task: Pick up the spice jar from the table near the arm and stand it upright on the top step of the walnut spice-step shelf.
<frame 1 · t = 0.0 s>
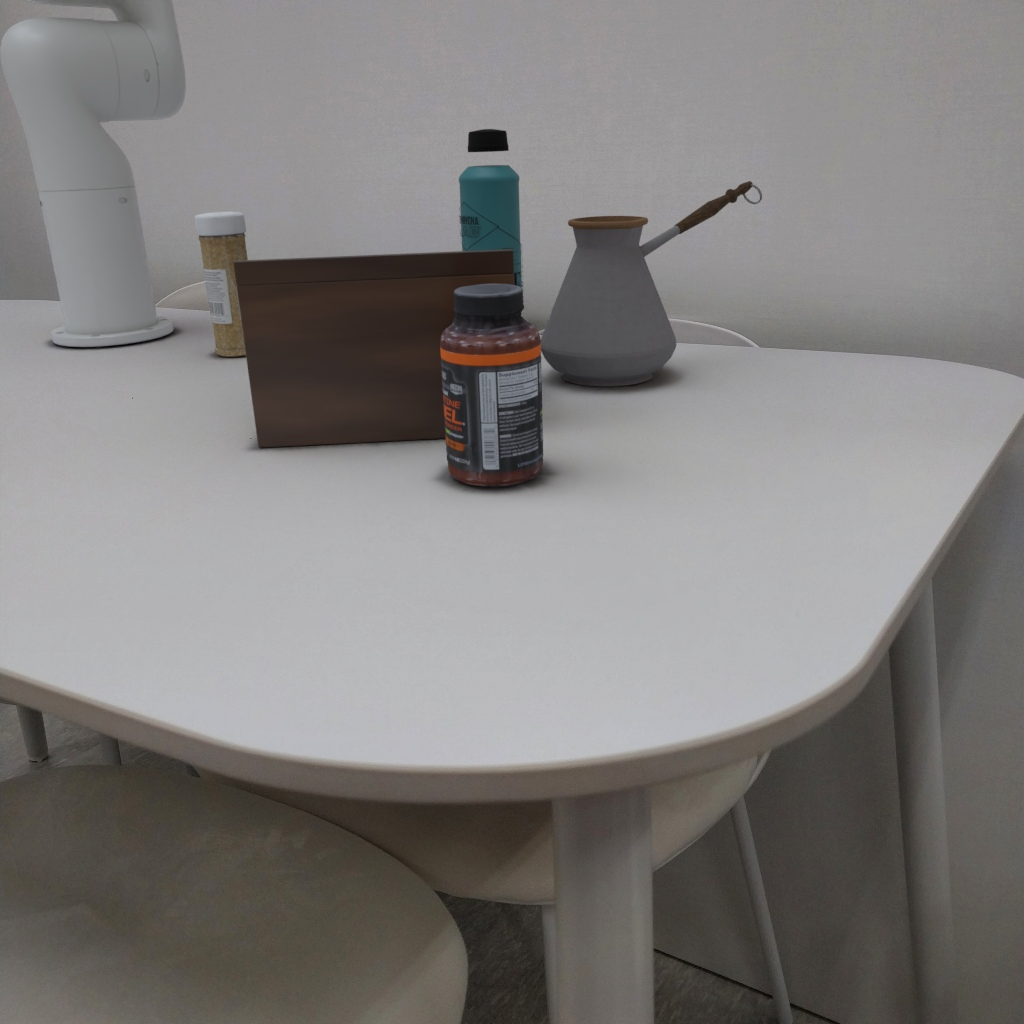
spice jar: (238, 354, 97), on the table
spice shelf: (395, 410, 74), on the table
beverage bottle: (494, 330, 105), on the table
supplement bottle: (495, 476, 60), on the table
coffee pot: (653, 370, 85), on the table
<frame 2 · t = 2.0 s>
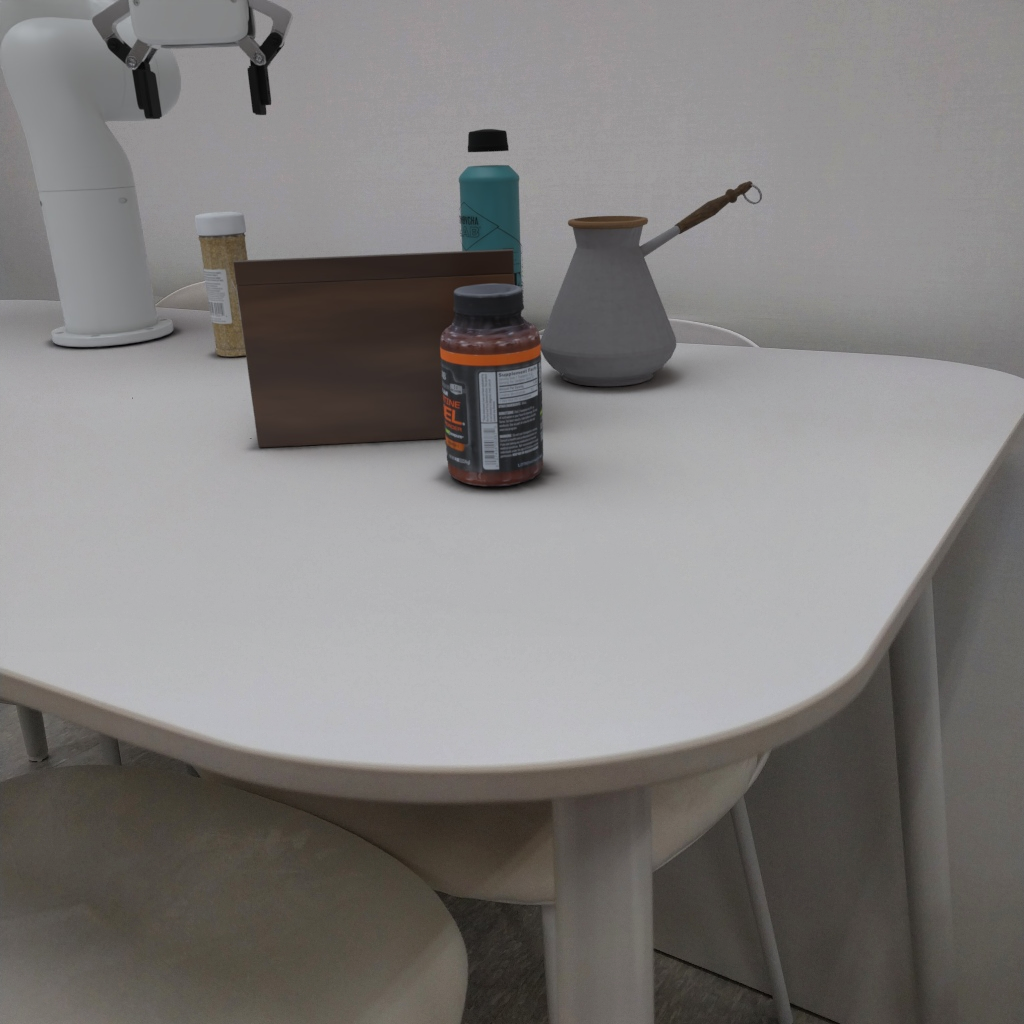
hand: (207, 116, 89), 22 cm above the table, tool pointing down, fingers open, 9 cm apart
nothing on the table moved.
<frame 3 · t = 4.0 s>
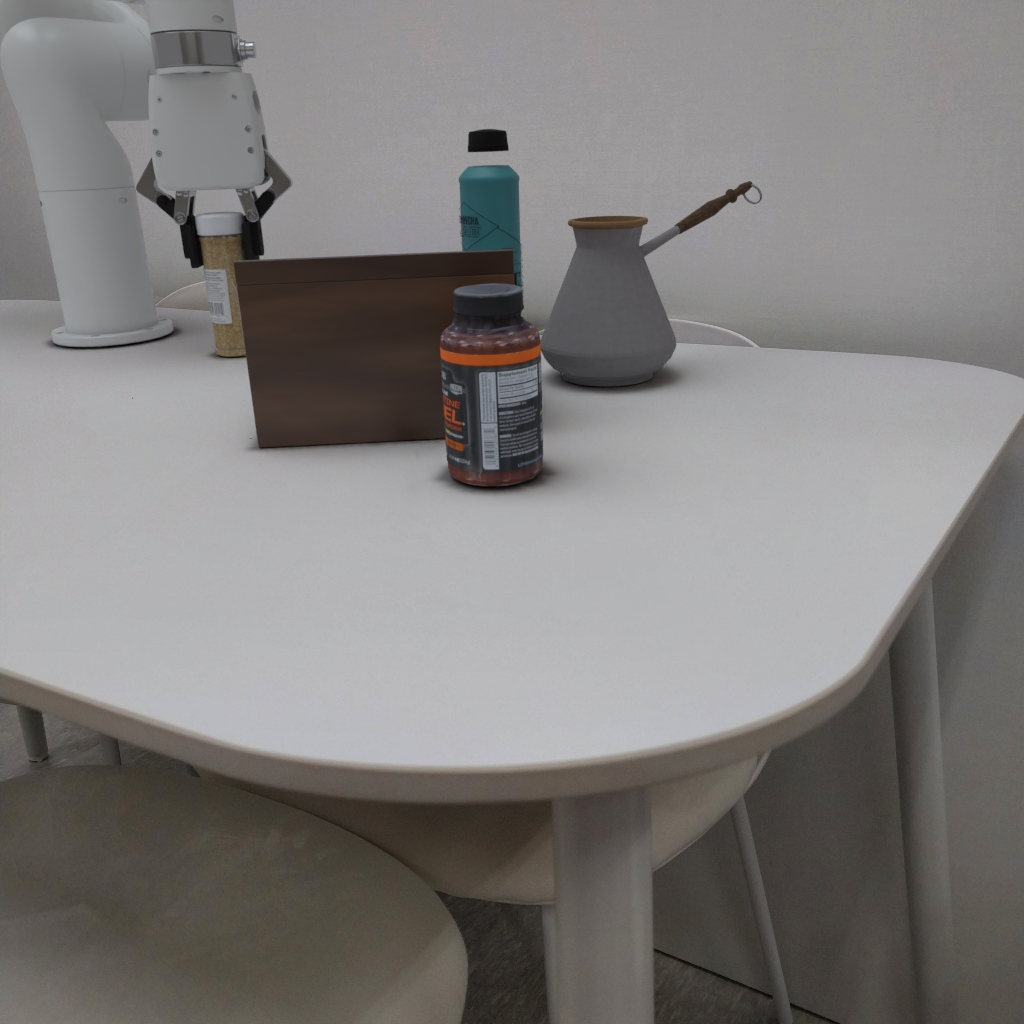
hand: (226, 263, 94), 9 cm above the table, tool pointing down, fingers closed on spice jar, 4 cm apart
spice jar: (238, 354, 97), on the table, touching gripper
everything else where it was.
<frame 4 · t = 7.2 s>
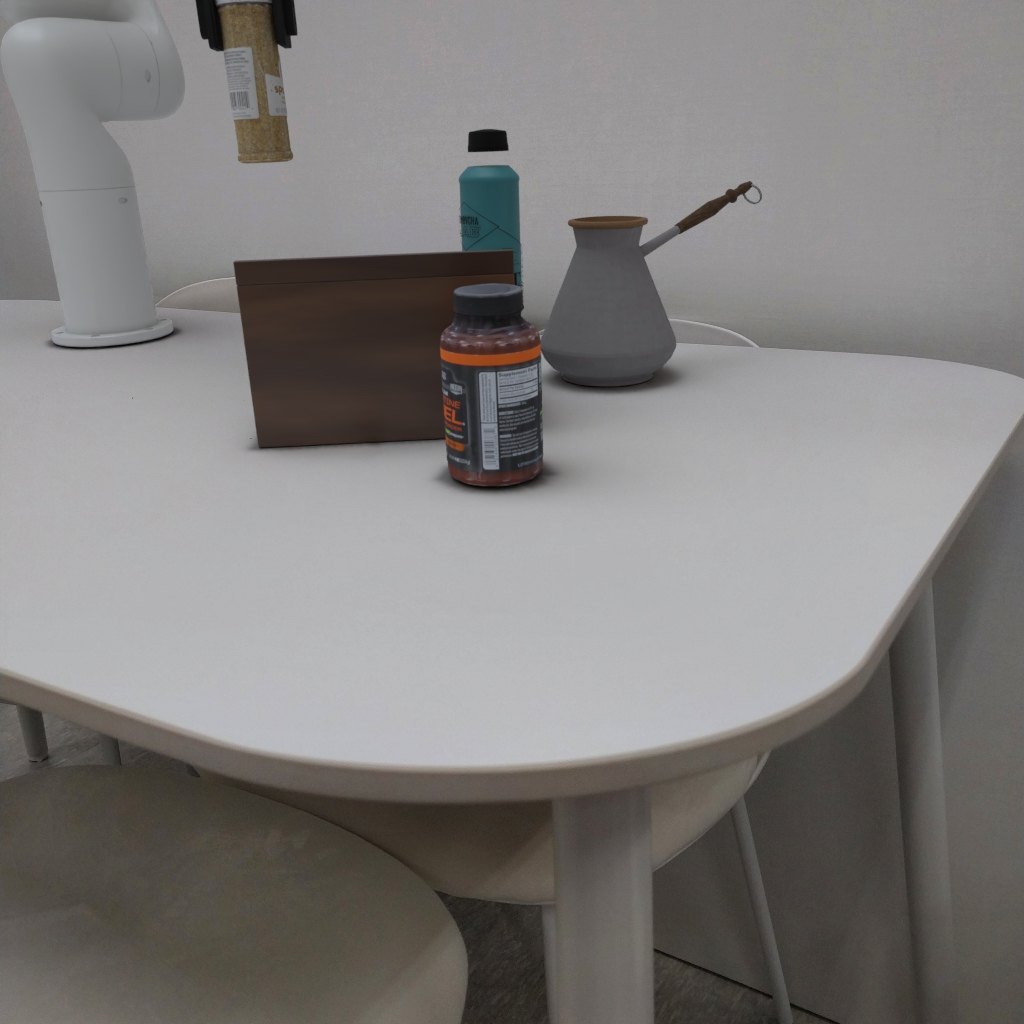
hand: (251, 45, 77), 27 cm above the table, tool pointing down, fingers closed on spice jar, 4 cm apart
spice jar: (266, 165, 80), point 18 cm above the table, touching gripper
everything else where it was.
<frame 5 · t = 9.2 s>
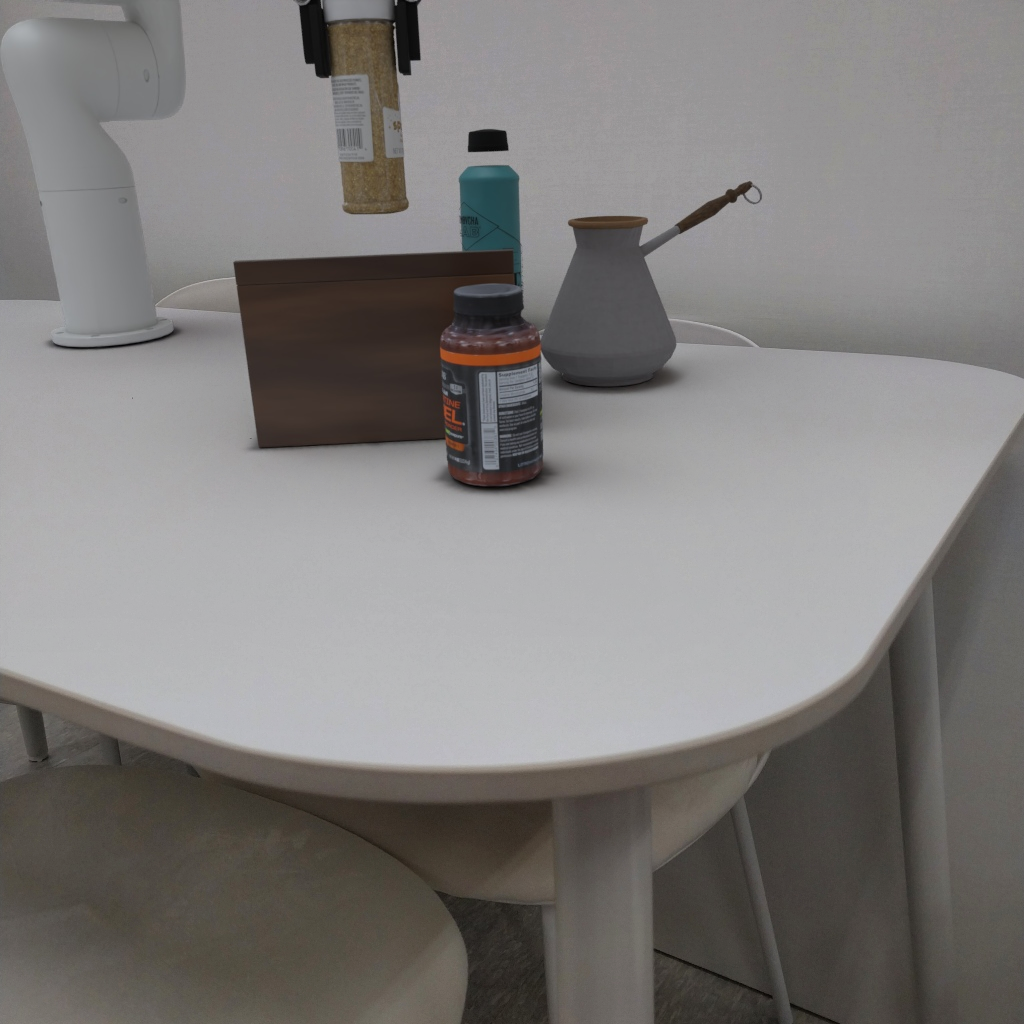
hand: (364, 72, 62), 24 cm above the table, tool pointing down, fingers closed on spice jar, 4 cm apart
spice jar: (375, 215, 66), point 15 cm above the table, touching gripper
everything else where it was.
when the fingers open (20 cm above the table, at t = 10.6 s): spice jar stays where it is, resting on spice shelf.
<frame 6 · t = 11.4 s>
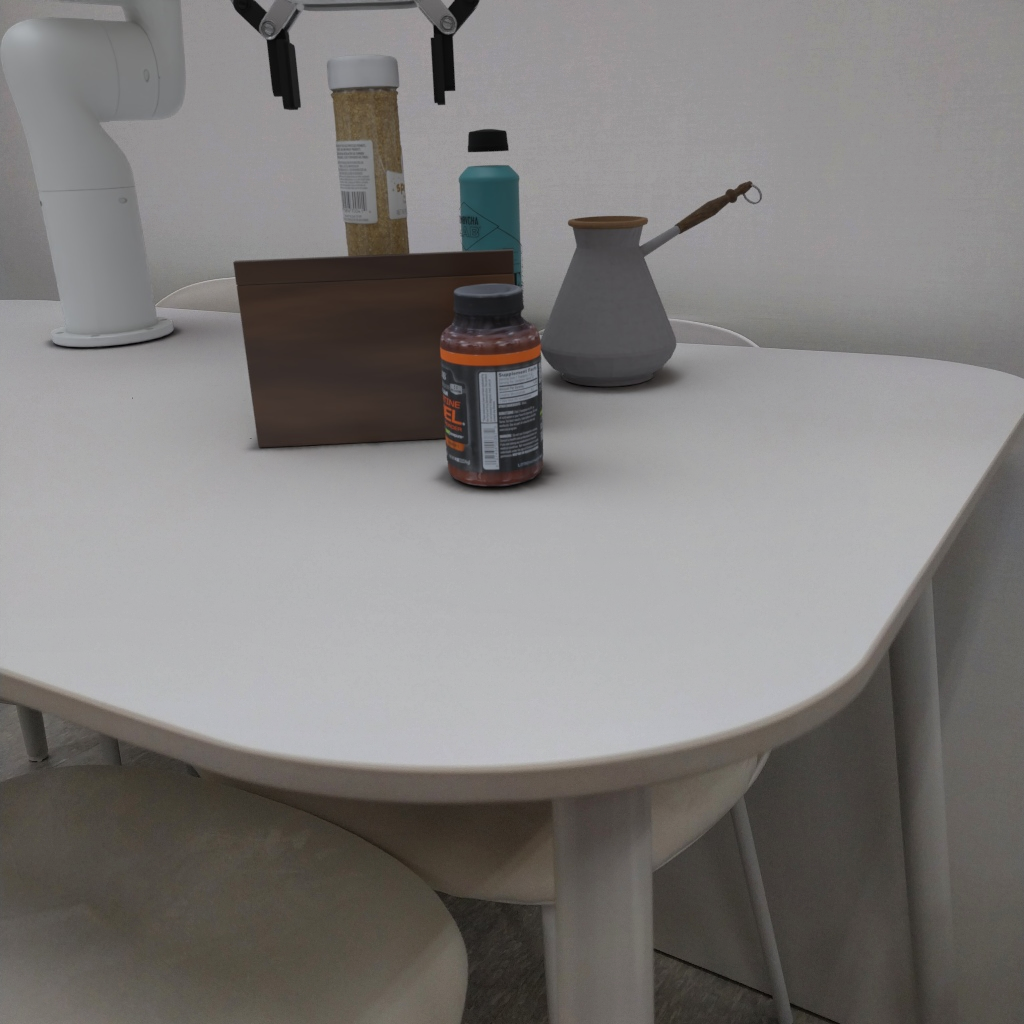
hand: (366, 106, 63), 21 cm above the table, tool pointing down, fingers open, 9 cm apart
spice jar: (379, 273, 67), point 11 cm above the table, touching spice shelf
everything else where it was.
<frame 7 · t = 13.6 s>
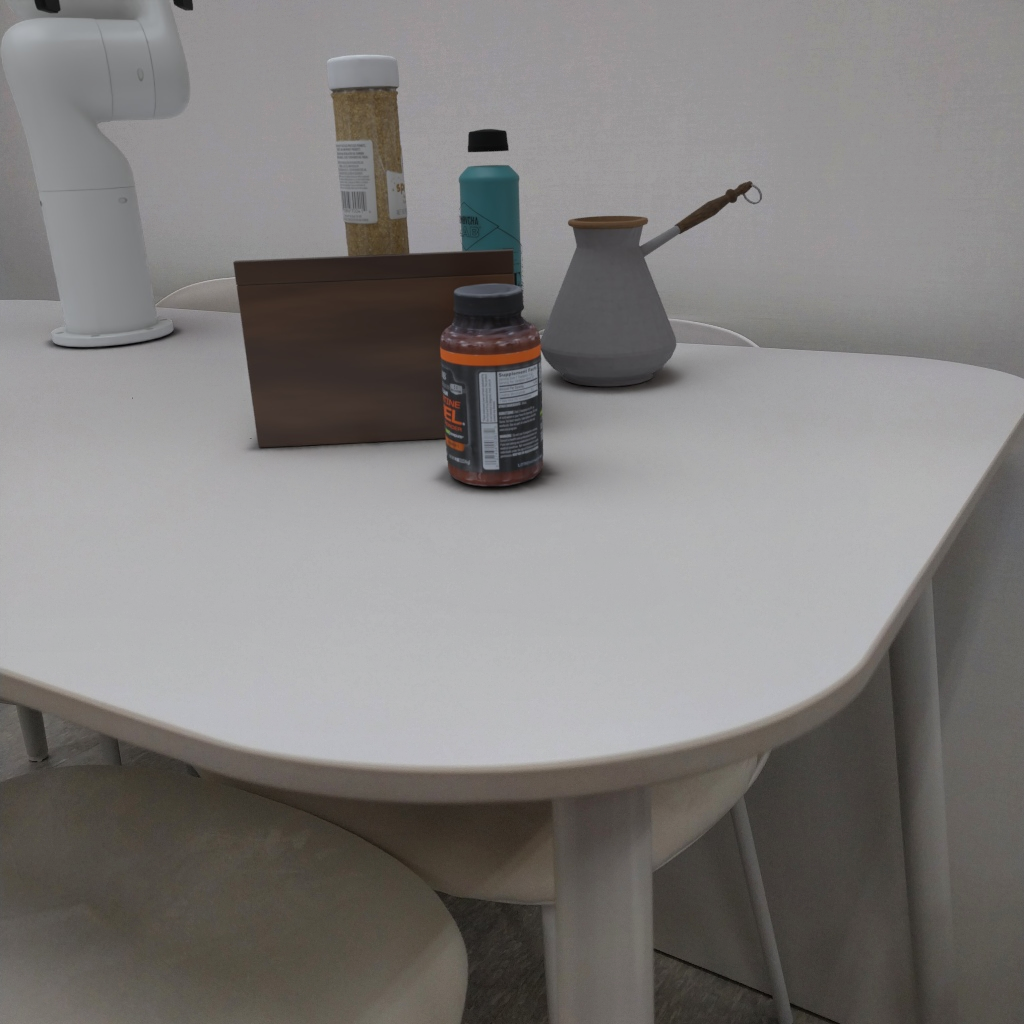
hand: (116, 9, 70), 29 cm above the table, tool pointing down, fingers open, 9 cm apart
nothing on the table moved.
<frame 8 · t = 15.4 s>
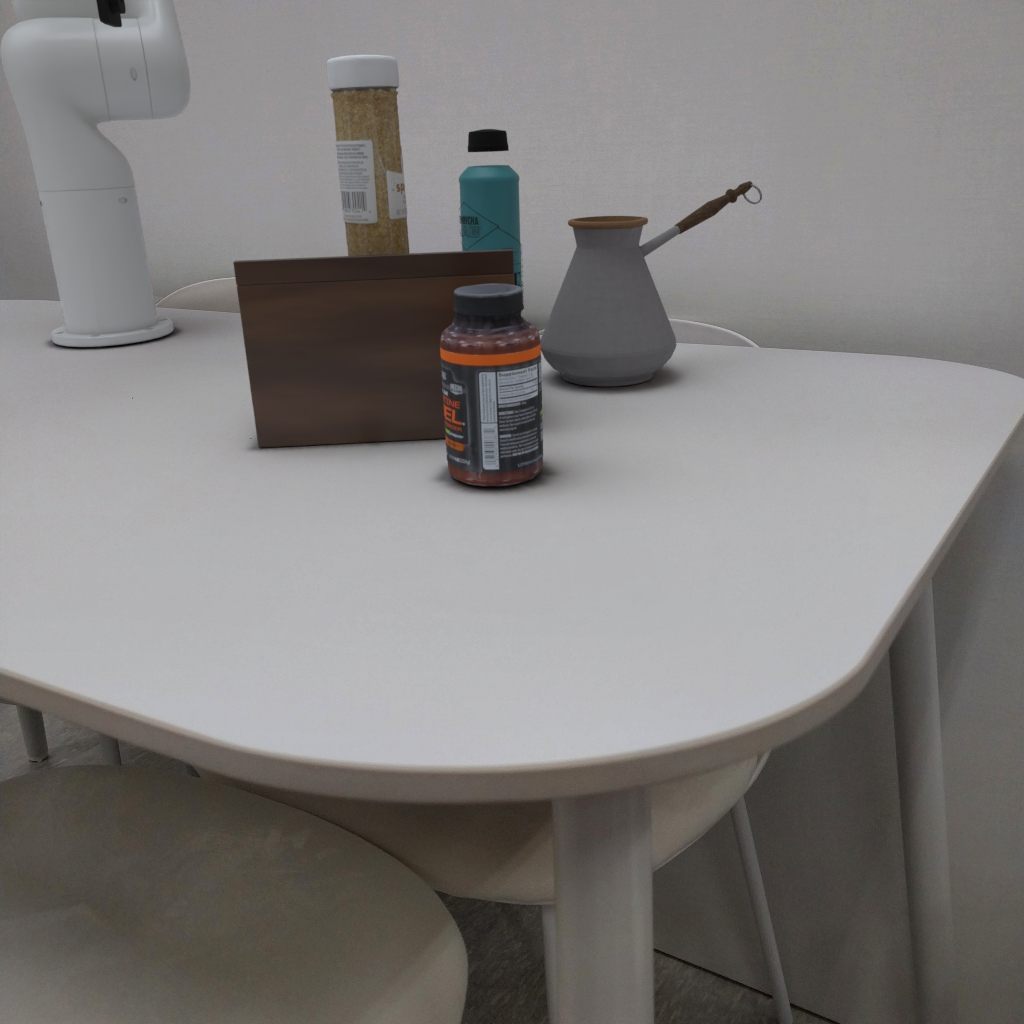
hand: (47, 27, 74), 28 cm above the table, tool pointing down, fingers open, 9 cm apart
nothing on the table moved.
at the end: spice jar inside the target area on the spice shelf (0.4 cm from its centre), point 10.8 cm above the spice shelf's base; spice jar tilted 0°; the gripper is holding nothing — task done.
